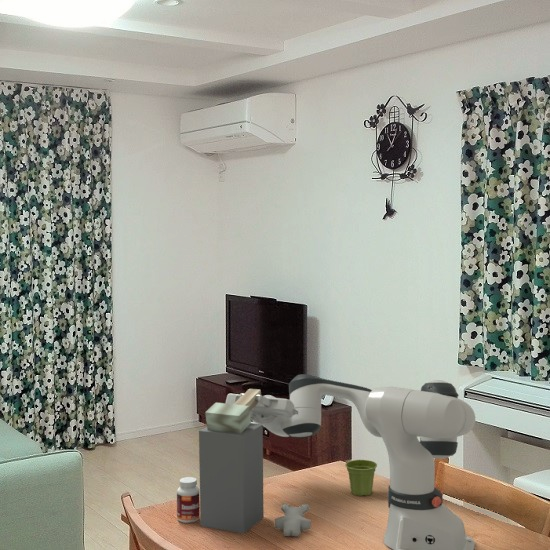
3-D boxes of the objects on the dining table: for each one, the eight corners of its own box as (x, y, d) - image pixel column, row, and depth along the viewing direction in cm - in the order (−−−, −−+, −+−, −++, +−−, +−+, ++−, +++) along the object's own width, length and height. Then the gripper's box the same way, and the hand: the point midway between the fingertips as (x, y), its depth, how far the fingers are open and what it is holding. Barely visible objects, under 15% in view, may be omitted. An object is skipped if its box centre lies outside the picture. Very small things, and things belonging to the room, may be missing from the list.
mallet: (271, 400, 226) (270, 384, 224) (241, 433, 208) (238, 415, 207) (240, 397, 230) (238, 381, 228) (207, 429, 212) (205, 412, 211)
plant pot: (339, 494, 236) (339, 465, 235) (355, 485, 244) (355, 457, 243) (367, 500, 231) (367, 471, 230) (382, 491, 238) (382, 462, 238)
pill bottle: (180, 525, 214) (180, 484, 213) (174, 517, 220) (173, 478, 219) (202, 521, 217) (202, 481, 216) (195, 513, 222) (195, 474, 221)
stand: (263, 517, 219) (262, 424, 217) (243, 533, 208) (242, 435, 206) (221, 510, 224) (220, 419, 222) (200, 526, 213) (198, 430, 211)
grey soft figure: (272, 524, 204) (278, 496, 219) (273, 542, 205) (278, 513, 220) (309, 525, 203) (312, 497, 218) (309, 543, 204) (312, 514, 219)
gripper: (298, 425, 230) (281, 411, 218) (235, 418, 238) (215, 404, 227) (302, 403, 232) (285, 389, 221) (239, 397, 241) (220, 383, 229)
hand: (249, 396), depth 224 cm, fingers closed on mallet, 3 cm apart
